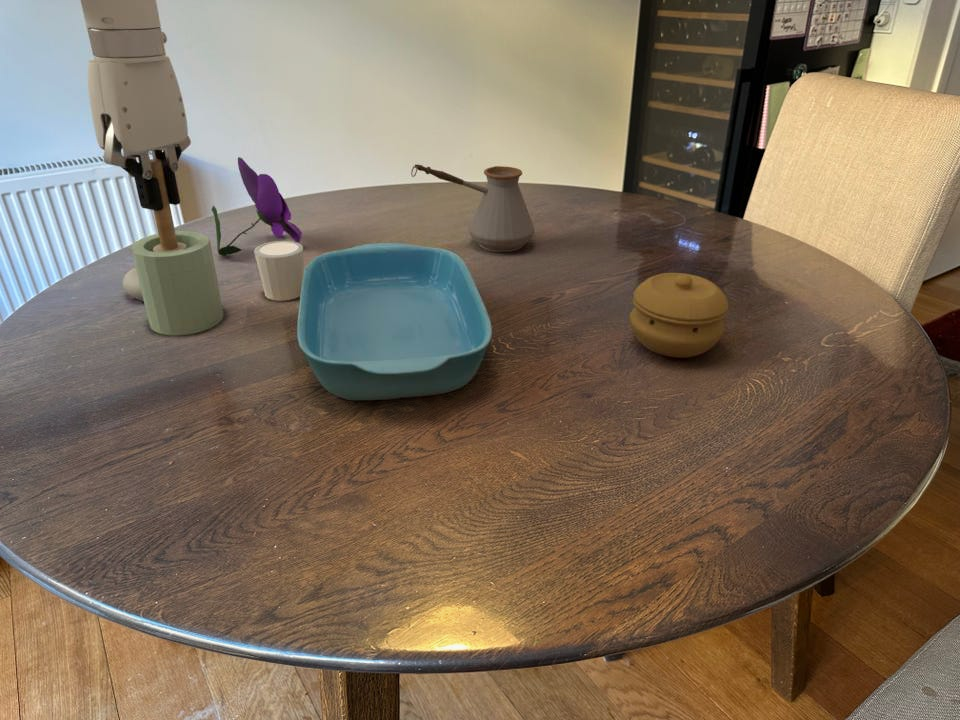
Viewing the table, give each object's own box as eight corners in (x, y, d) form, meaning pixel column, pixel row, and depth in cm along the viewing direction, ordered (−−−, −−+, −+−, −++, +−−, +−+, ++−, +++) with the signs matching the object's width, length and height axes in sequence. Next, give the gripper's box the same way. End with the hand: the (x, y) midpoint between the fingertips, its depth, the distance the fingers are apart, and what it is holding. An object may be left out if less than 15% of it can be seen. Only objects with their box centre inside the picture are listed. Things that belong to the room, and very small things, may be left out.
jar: (140, 336, 91) (120, 257, 86) (161, 306, 99) (144, 231, 94) (215, 334, 92) (200, 255, 87) (229, 303, 100) (216, 230, 95)
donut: (116, 290, 104) (138, 311, 98) (110, 268, 103) (132, 288, 96) (183, 273, 110) (208, 292, 103) (178, 252, 108) (204, 270, 102)
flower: (263, 296, 115) (322, 243, 118) (206, 227, 104) (274, 171, 108) (223, 270, 124) (280, 221, 128) (168, 204, 113) (232, 154, 117)
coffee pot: (519, 230, 129) (523, 148, 122) (543, 252, 120) (549, 164, 112) (406, 242, 123) (403, 155, 116) (422, 265, 114) (420, 173, 106)
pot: (695, 324, 97) (708, 256, 92) (735, 366, 87) (752, 292, 82) (614, 329, 95) (623, 260, 90) (645, 372, 85) (656, 297, 80)
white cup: (277, 280, 108) (271, 237, 104) (317, 287, 106) (312, 243, 102) (251, 298, 102) (243, 252, 99) (292, 305, 100) (286, 259, 97)
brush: (156, 289, 91) (129, 165, 83) (165, 277, 94) (139, 157, 86) (188, 288, 91) (164, 165, 83) (196, 276, 95) (173, 156, 87)
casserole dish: (508, 414, 77) (510, 357, 73) (299, 433, 73) (291, 374, 70) (456, 281, 108) (456, 237, 105) (309, 290, 105) (304, 245, 101)
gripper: (157, 38, 86) (184, 186, 95) (40, 49, 74) (85, 219, 83) (205, 42, 84) (228, 194, 93) (92, 54, 71) (132, 229, 80)
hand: (160, 204), depth 88 cm, fingers closed on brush, 2 cm apart
